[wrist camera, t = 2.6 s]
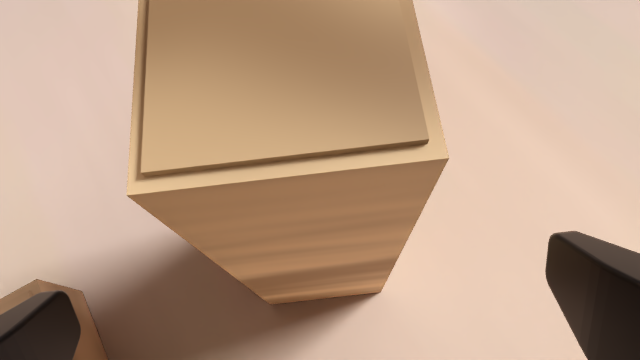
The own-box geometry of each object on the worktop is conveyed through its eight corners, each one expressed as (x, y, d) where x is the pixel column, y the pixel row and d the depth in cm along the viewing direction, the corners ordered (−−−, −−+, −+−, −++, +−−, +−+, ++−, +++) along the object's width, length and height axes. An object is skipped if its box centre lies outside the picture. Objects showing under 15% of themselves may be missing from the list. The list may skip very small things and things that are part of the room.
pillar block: (380, 292, 18) (451, 153, 6) (270, 304, 18) (121, 191, 6) (365, 188, 20) (396, -82, 8) (263, 200, 20) (137, -50, 8)
